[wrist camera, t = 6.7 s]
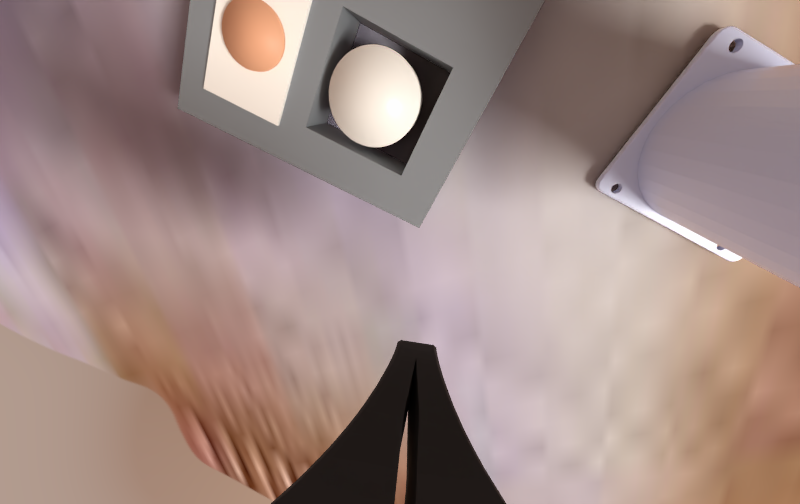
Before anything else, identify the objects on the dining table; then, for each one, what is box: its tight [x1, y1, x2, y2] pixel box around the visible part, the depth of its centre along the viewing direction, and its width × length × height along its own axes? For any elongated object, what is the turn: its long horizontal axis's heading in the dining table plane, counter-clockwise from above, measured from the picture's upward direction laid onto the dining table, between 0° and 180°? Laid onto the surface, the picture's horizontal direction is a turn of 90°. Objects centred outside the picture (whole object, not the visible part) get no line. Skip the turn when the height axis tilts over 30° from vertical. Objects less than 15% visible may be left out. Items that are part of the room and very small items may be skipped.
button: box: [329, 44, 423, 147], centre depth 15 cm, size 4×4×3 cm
